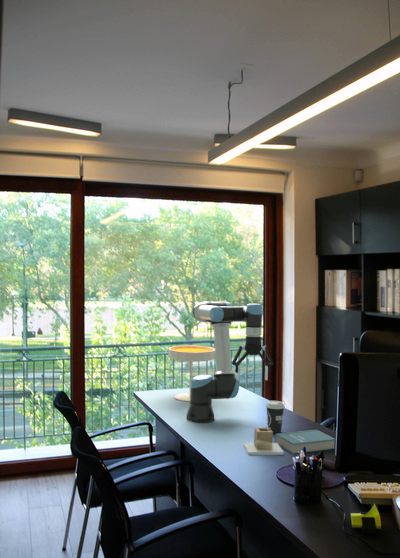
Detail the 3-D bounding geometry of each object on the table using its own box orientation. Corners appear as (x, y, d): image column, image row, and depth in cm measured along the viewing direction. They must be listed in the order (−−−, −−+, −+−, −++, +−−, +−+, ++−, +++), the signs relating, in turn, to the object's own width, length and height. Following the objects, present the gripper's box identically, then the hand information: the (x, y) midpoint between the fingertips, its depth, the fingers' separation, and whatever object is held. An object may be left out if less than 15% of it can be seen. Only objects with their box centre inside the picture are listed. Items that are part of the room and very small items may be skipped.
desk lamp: (186, 390, 359) (187, 344, 359) (223, 397, 342) (224, 348, 342) (157, 398, 335) (158, 348, 335) (195, 406, 318) (196, 354, 318)
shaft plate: (247, 454, 237) (248, 440, 237) (243, 445, 250) (243, 431, 250) (283, 454, 238) (283, 441, 238) (277, 445, 251) (277, 432, 251)
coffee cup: (272, 435, 265) (273, 405, 265) (261, 430, 274) (262, 401, 273) (287, 433, 270) (288, 403, 269) (276, 428, 278) (277, 399, 278)
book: (292, 454, 240) (293, 443, 240) (274, 443, 255) (275, 433, 255) (335, 449, 248) (335, 439, 248) (315, 439, 263) (315, 429, 263)
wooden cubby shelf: (254, 444, 247) (254, 425, 247) (269, 444, 248) (269, 425, 248) (256, 449, 240) (257, 430, 240) (272, 449, 241) (272, 430, 241)
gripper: (228, 336, 254) (227, 380, 255) (280, 337, 256) (279, 381, 256) (226, 334, 262) (225, 377, 262) (277, 335, 263) (276, 378, 264)
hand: (252, 379), depth 259 cm, fingers open, 13 cm apart
